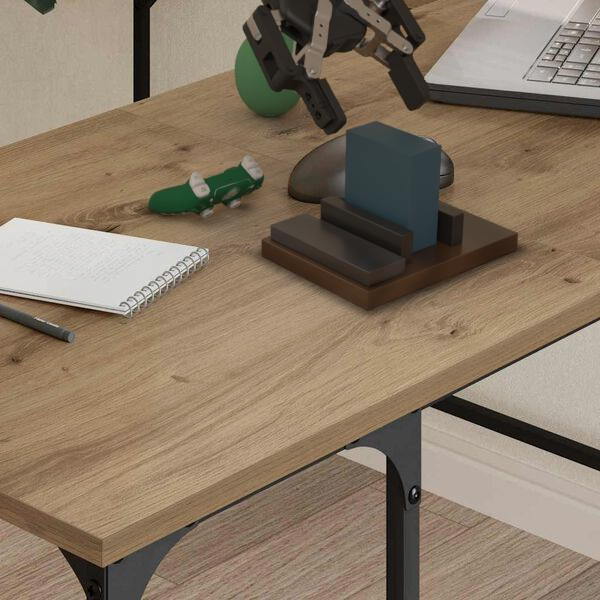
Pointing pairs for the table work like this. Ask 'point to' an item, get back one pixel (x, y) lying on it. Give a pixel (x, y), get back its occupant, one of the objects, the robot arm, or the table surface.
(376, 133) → the back pad
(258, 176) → the gaming controller
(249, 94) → the alien toy
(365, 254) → the brown wooden stand
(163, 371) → the table surface
